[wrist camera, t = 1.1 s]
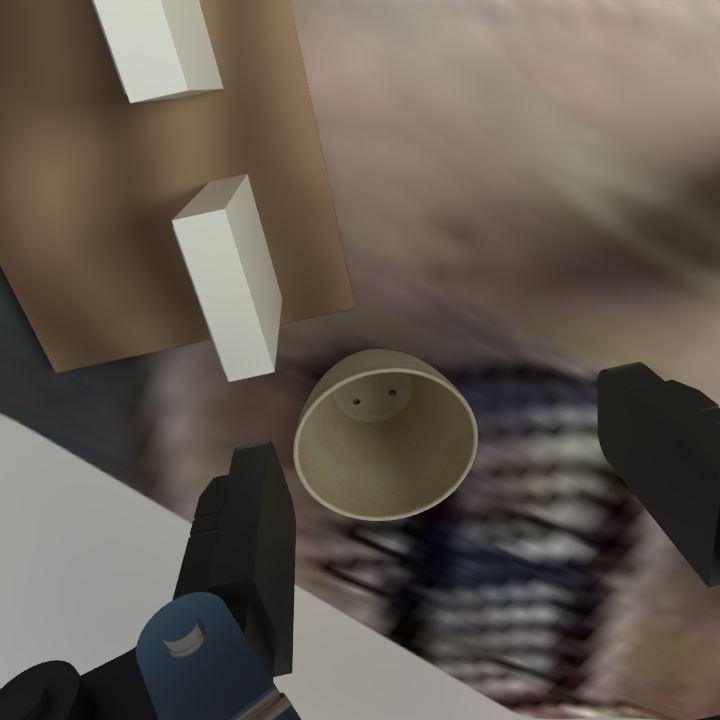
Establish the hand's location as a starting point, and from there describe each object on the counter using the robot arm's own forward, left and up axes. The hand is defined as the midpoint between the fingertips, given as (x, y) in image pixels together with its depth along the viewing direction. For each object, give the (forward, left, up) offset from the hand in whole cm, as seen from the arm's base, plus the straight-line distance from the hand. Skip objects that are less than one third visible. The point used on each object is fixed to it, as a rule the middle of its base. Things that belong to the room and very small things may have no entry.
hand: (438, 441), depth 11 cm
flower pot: (+1, +11, -22) cm, 24 cm away
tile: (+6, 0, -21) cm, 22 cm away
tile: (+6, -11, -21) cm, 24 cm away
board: (+10, -6, -22) cm, 24 cm away
